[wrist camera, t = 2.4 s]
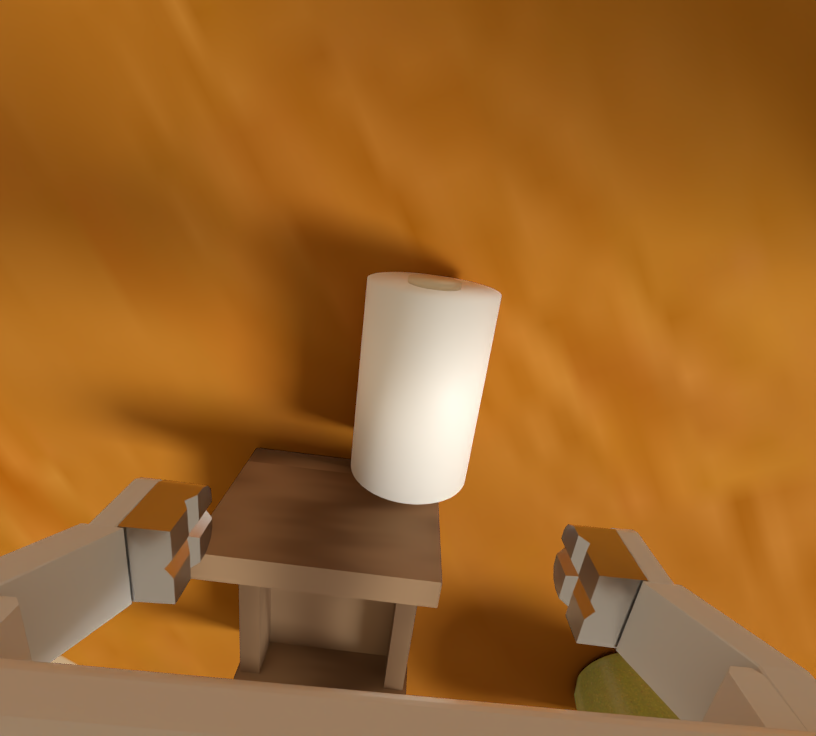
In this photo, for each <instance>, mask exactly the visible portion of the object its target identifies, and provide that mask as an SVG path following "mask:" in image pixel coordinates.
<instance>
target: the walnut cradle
mask: <svg viewBox="0 0 816 736" xmlns="http://www.w3.org/2000/svg"><path fill="white" fill-rule="evenodd" d="M211 517H212V534H211V539H210V542H209V545H208V548H207V551H206V553H205V555H204V557H203V558H202V560H201V562H200V563H198V564H196V565H195V566H193V567H191V568H190V569H191V579H199V580H207V581H215V582H224V583H232V584H239V625H240V664H239V666H238V669H237V671H236V674H235V676H234V679H237V680H248V681H259V682H270V683H281V684H292V685H303V686H314V687H325V688H337V689H348V690H359V691H370V692H381V693H392V694H403V695H406V680H407V661H408V655H409V649H410V644H411V638H412V632H413V626H414V621H415V615H416V609H417V606H424V607H432V608H437V607H438V602H439V597H440V591H441V586H442V569H441V548H440V528H439V507H438V502H437V503H431V504H404V503H399V502H394V501H390V500H387V499H384V498H382V497H379V496H377V495H375V494H373V493H371V492H370V491H368V490H367V489H365V488H364V487H363V486H362V485H361V484H360V483H359V482H358V481H357V480H356V479H355V477H354V475H353V473H352V470H351V459H344V458H336V457H328V456H320V455H312V454H304V453H296V452H288V451H279V450H271V449H263V448H256V450H255V451H254V453H253V454H252V456H251V457H250V459H249V460H248V462H247V463H246V465H245V466H244V467H243V469H242V470H241V472H240V473H239V475H238V476H237V478H236V479H235V481H234V482H233V484H232V485H231V487H230V488H229V490H228V491H227V492H226V494H225V495H224V497H223V498H222V500H221V501H220V503H219V504H218V506H217V507H216V509H215V510H214V512H213V513H212V515H211Z"/></svg>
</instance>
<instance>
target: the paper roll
mask: <svg viewBox="0 0 816 736" xmlns="http://www.w3.org/2000/svg"><path fill="white" fill-rule="evenodd" d="M501 296H502V295H501V293H500V292H498V291H497V290H495V289H493V288H490V287H488V286H485V285H482V284H478V283H475V282H471V281H466V280H462V279H457V278H452V277H445V276H437V275H430V274H422V273H412V272H380V273H374V274H371V275H369V276H368V277H367V287H366V298H365V310H364V321H363V332H362V343H361V354H360V366H359V377H358V388H357V399H356V411H355V422H354V433H353V444H352V455H351V470H352V473H353V475H354V477H355V479H356V480H357V481H358V482H359V483H360V484H361V485H362V486H363V487H364V488H365V489H367V490H368V491H370V492H371V493H373V494H375V495H377V496H379V497H382V498H384V499H387V500H390V501H394V502H399V503H404V504H431V503H437V502H440V501H444V500H446V499H449V498H451V497H452V496H454V495H455V494H457V493H458V492H459V491H460V490H461V488H462V487H463V485H464V482H465V478H466V473H467V468H468V463H469V458H470V452H471V447H472V442H473V437H474V432H475V427H476V422H477V417H478V412H479V407H480V402H481V397H482V392H483V387H484V382H485V377H486V372H487V367H488V362H489V357H490V352H491V347H492V342H493V337H494V332H495V327H496V322H497V316H498V311H499V306H500V301H501Z"/></svg>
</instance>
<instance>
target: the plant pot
mask: <svg viewBox="0 0 816 736" xmlns="http://www.w3.org/2000/svg"><path fill="white" fill-rule="evenodd" d="M574 698H575V703H576V709H577V711H588V712H599V713H611V714H622V715H633V716H644V717H656V718H667V719H678V720H680V719H679V718H678V717H677V715H676V714H675V713H674V712H673V711H672V710H671V709H670V708H669V707H668V706H667V705H666V704H665V703H664V701H663V700H662V699H661V698H660V697H659V696H658V695H657V694H656V693H655V692H654V691H653V690H652V689H651V687H650V686H649V685H648V684H647V683H646V682H645V681H644V680H643V679H642V678H641V677H640V676H639V675H638V674H637V672H636V671H635V670H634V669H633V668H632V667H631V666H630V665H629V664H628V663H627V662H626V661H625V660H624V658H623V657H622V656H621V655H620V654H619V653H615V654H610V655H608V656H605V657H602V658H600V659H598V660H596V661H594V662H592V663H591V664H589V665H588V666H587V667H586V668H585V669H583V671H582V672H581V673H580V674H579V676H578V678H577V684H576V688H575V693H574Z"/></svg>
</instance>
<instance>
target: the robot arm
mask: <svg viewBox="0 0 816 736" xmlns="http://www.w3.org/2000/svg"><path fill="white" fill-rule="evenodd" d="M211 502H212V498H211V489H210V487H209V486H208V485H201V484H193V483H185V482H178V481H170V480H161V479H152V478H144V477H140V478H137V479H135V480H133V481H132V482H131V483H130V484H129V485H128V486H127V487H126V488H125V489H124V490H123V491H122V492H121V493H120V494H119V495H118V496H117V497H116V498H115V499H114V500H113V501H112V502H111V503H110V504H109V505H108V506H107V507H106V508H105V509H104V510H103V511H102V512H101V513H100V514H99V515H97V516H96V517H95V518H94V519H93V520H92V521H91V522H90V523H89V524H79V525H76V526H74V527H71V528H69V529H67V530H64V531H62V532H59V533H57V534H54V535H52V536H50V537H47V538H45V539H42V540H40V541H38V542H35V543H33V544H30V545H28V546H25V547H23V548H21V549H18V550H16V551H13V552H11V553H9V554H6V555H4V556H1V557H0V736H816V680H815V679H814V677H813V676H812V675H811V674H810V673H809V672H808V671H807V670H805V669H804V668H802V667H801V666H799V665H798V664H796V663H795V662H793V661H792V660H790V659H789V658H787V657H786V656H785V655H783V654H782V653H780V652H779V651H777V650H776V649H774V648H773V647H771V646H770V645H768V644H767V643H765V642H764V641H763V640H761V639H760V638H758V637H757V636H755V635H754V634H752V633H751V632H749V631H748V630H746V629H745V628H743V627H742V626H740V625H739V624H738V623H736V622H735V621H733V620H732V619H730V618H729V617H727V616H726V615H724V614H723V613H721V612H720V611H718V610H717V609H716V608H714V607H713V606H711V605H710V604H708V603H707V602H705V601H704V600H702V599H701V598H699V597H698V596H696V595H695V594H694V593H692V592H691V591H689V590H688V589H686V588H685V587H683V586H682V585H675V584H674V583H673V582H672V580H671V579H670V578H669V576H668V575H667V573H666V572H665V571H664V569H663V568H662V566H661V565H660V564H659V562H658V561H657V559H656V558H655V556H654V555H653V554H652V552H651V551H650V549H649V548H648V547H647V545H646V544H645V542H644V541H643V540H642V538H641V537H640V535H639V534H638V533H637V532H635V531H634V530H630V529H618V528H610V529H608V528H598V527H589V526H579V525H569V524H568V525H567V526H566V528H565V529H564V532H563V535H562V538H561V539H562V541H563V543H564V545H565V548H564V549H562V550H561V551H560V552H559V553H557V555H556V559H555V563H554V584H555V589H556V591H557V594H558V597H559V599H561V600H562V601H563V602H564V603H565V604H566V605H567V606H568V609H567V612H566V618H567V620H568V623H569V626H570V628H571V631H572V633H573V636H574V638H575V641H576V643H579V644H587V645H595V646H603V647H611V648H616V651H617V652H618V653H619V654H620V655H621V656H622V657H623V658H624V660H625V661H626V662H627V663H628V664H629V665H630V666H631V667H632V668H633V669H634V670H635V671H636V672H637V674H638V675H639V676H640V677H641V678H642V679H643V680H644V681H645V682H646V683H647V684H648V685H649V686H650V687H651V689H652V690H653V691H654V692H655V693H656V694H657V695H658V696H659V697H660V698H661V699H662V700H663V701H664V703H665V704H666V705H667V706H668V707H669V708H670V709H671V710H672V711H673V712H674V713H675V714H676V715H677V717H678V718H679V719H680V720H678V719H667V718H656V717H644V716H633V715H622V714H611V713H599V712H588V711H577V710H567V709H556V708H545V707H534V706H523V705H512V704H501V703H491V702H480V701H469V700H458V699H447V698H436V697H425V696H414V695H403V694H392V693H381V692H370V691H359V690H348V689H337V688H325V687H314V686H303V685H292V684H281V683H270V682H259V681H248V680H237V679H226V678H215V677H204V676H193V675H182V674H171V673H160V672H149V671H138V670H127V669H116V668H105V667H94V666H83V665H72V664H61V663H50V662H52V661H53V660H54V659H56V658H57V657H59V656H60V655H61V654H63V653H64V652H66V651H67V650H68V649H70V648H71V647H73V646H74V645H75V644H77V643H78V642H79V641H81V640H82V639H84V638H85V637H86V636H88V635H89V634H91V633H92V632H93V631H95V630H96V629H98V628H99V627H100V626H102V625H103V624H104V623H106V622H107V621H109V620H110V619H111V618H113V617H114V616H116V615H117V614H118V613H120V612H121V611H123V610H124V609H125V608H127V607H128V606H129V605H131V604H132V601H134V602H149V603H164V604H176V602H177V601H178V599H179V597H180V596H181V594H182V592H183V591H184V589H185V587H186V586H187V584H188V582H189V581H190V579H191V569H190V568H191V567H193V566H195V565H196V564H198V563H200V562H201V560H202V558H203V557H204V555H205V553H206V551H207V548H208V545H209V542H210V539H211V534H212V517H211V516H210V515H209V513H208V512H207V511H206V509H207V508H208V506H209V505H210V503H211Z"/></svg>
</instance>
